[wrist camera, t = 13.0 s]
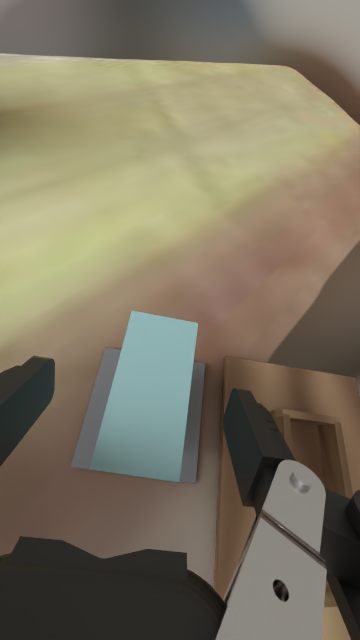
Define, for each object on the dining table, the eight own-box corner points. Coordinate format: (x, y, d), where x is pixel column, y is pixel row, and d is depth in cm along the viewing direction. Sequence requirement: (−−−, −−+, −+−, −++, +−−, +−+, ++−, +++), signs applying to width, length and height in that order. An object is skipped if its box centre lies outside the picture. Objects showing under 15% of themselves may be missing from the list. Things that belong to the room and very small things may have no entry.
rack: (210, 674, 15) (224, 727, 12) (223, 358, 24) (233, 349, 21) (411, 689, 16) (466, 742, 13) (349, 379, 25) (374, 373, 22)
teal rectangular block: (123, 446, 19) (89, 469, 8) (138, 374, 22) (131, 310, 10) (158, 452, 19) (179, 482, 8) (170, 380, 22) (197, 323, 10)
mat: (72, 466, 18) (70, 467, 18) (105, 348, 23) (105, 347, 23) (194, 482, 19) (195, 483, 19) (204, 364, 24) (205, 363, 23)
